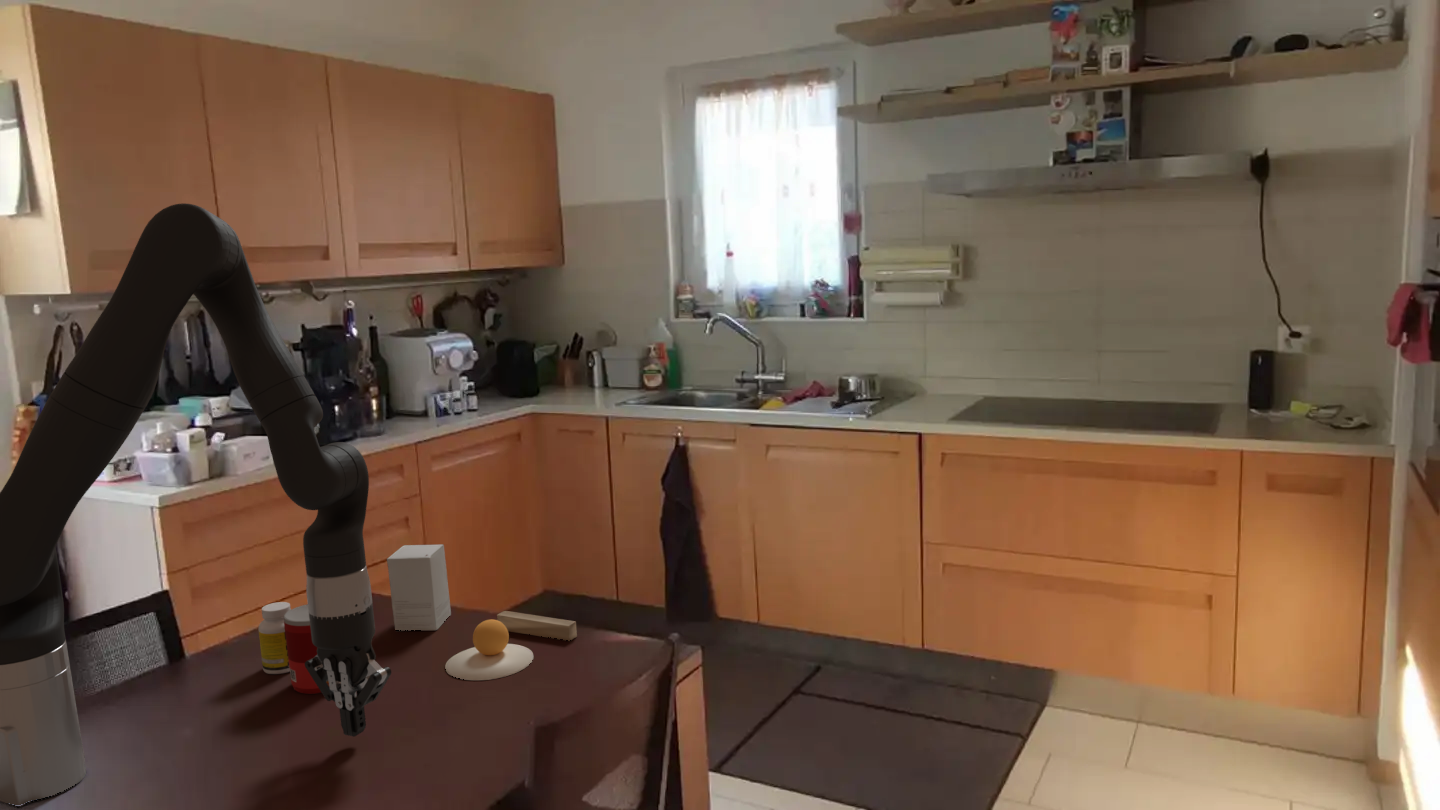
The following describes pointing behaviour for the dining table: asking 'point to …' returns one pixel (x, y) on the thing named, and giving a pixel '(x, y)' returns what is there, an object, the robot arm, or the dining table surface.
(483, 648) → the ball
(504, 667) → the disc
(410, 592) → the supplement box
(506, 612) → the stopper wall
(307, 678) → the canned food
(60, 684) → the robot arm
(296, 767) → the dining table surface
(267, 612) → the supplement bottle
